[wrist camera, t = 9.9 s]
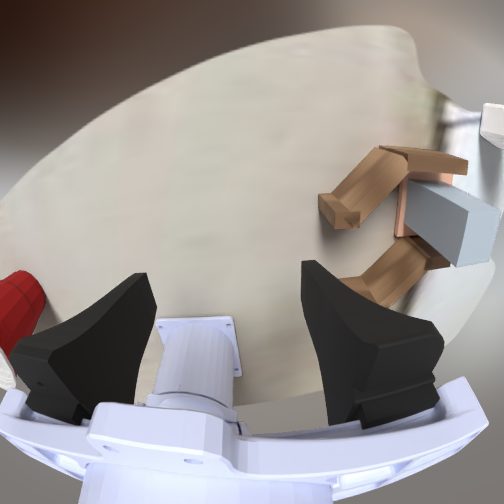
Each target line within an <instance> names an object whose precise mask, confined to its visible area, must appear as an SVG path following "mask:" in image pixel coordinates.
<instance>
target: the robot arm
mask: <svg viewBox="0 0 504 504" xmlns="http://www.w3.org/2000/svg"><path fill="white" fill-rule="evenodd" d="M301 302H302V307H303V312H304V317H305V320H306V323H307V326H308V329H309V332H310V335H311V338H312V341H313V344H314V347H315V350H316V353H317V357H318V361H319V366H320V371H321V376H322V382H323V388H324V394H325V401H326V407H327V415H328V424H329V426H327V427H321V428H314V429H307V430H300V431H292V432H283V433H271V434H256V435H252V432H251V430H250V429H249V428H248V427H247V425H246V423H244V422H239V421H237V411H236V410H233V377H240V376H242V369H241V364H240V358H239V352H238V346H237V340H236V333H235V327H234V321H233V318H232V317H231V316H215V317H194V318H160V319H157V320H156V322H155V324H156V327H157V330H158V332H159V335H160V337H161V340H162V343H163V345H164V351H163V354H162V358H161V362H160V365H159V369H158V373H157V377H156V381H155V384H154V388H153V392H152V394H150V393H149V394H148V397H147V401H146V404H144V403H141V402H138V403H136V404H135V405H134V397H135V390H136V383H137V377H138V372H139V367H140V363H141V360H142V357H143V354H144V351H145V348H146V345H147V342H148V339H149V336H150V334H151V331H152V328H153V325H154V320H155V315H156V310H157V305H156V302H155V299H154V296H153V293H152V290H151V287H150V284H149V280H148V277H147V274H146V273H135V274H133V275H131V276H130V277H128V278H127V279H126V280H124V281H123V282H122V283H120V284H119V285H118V286H117V287H115V288H114V289H113V290H111V291H110V292H109V293H108V294H106V295H105V296H104V297H102V298H101V299H100V300H98V301H97V302H96V303H94V304H93V305H92V306H90V307H89V308H87V309H86V310H84V311H82V312H81V313H79V314H78V315H76V316H74V317H72V318H71V319H69V320H67V321H65V322H63V323H61V324H59V325H57V326H55V327H52V328H50V329H48V330H45V331H42V332H40V333H37V334H34V335H30V336H27V337H24V338H20V339H19V341H18V342H17V344H16V345H15V347H14V348H13V350H12V351H11V353H10V354H9V360H10V363H11V365H12V367H13V369H14V370H15V372H16V373H17V374H18V376H19V377H20V378H21V379H22V381H23V382H24V383H25V384H26V385H27V387H28V388H29V389H30V390H31V391H30V393H29V395H27V394H26V393H25V392H23V391H20V390H18V389H15V388H12V387H9V389H8V391H7V393H6V395H5V397H4V399H3V401H2V403H1V405H0V434H1V435H2V436H4V437H5V438H6V439H7V440H8V441H10V442H11V443H12V444H13V445H15V446H16V447H17V448H18V449H20V450H21V451H22V452H24V453H25V454H27V455H29V456H31V457H32V458H34V459H36V460H38V461H40V462H42V463H44V464H46V465H48V466H50V467H52V468H54V469H56V470H58V471H60V472H63V473H65V474H67V475H69V476H72V477H74V478H76V479H79V480H81V481H83V485H82V490H81V494H80V498H79V503H78V504H333V501H335V500H339V499H343V498H347V497H351V496H354V495H358V494H361V493H364V492H367V491H370V490H373V489H376V488H379V487H382V486H385V485H387V484H390V483H392V482H395V481H398V480H400V479H402V478H405V477H407V476H410V475H412V474H414V473H416V472H419V471H421V470H423V469H425V468H427V467H429V466H431V465H433V464H436V463H438V462H440V461H442V460H444V459H445V458H448V457H450V456H452V455H453V454H455V453H457V452H458V451H459V450H461V449H462V448H463V447H464V446H466V445H467V444H468V443H469V442H470V441H471V440H472V439H474V438H475V437H476V436H477V435H478V434H479V433H480V432H481V431H482V430H483V429H485V428H486V426H488V424H489V422H488V420H487V418H486V416H485V414H484V412H483V410H482V408H481V406H480V404H479V402H478V400H477V399H476V396H475V394H474V393H473V391H472V389H471V387H470V386H469V384H468V382H467V380H466V378H465V377H464V376H462V377H459V378H457V379H455V380H452V381H450V382H447V383H445V384H443V385H441V386H440V387H438V388H437V389H435V387H434V385H433V383H434V382H435V377H434V375H433V373H432V371H433V369H434V367H435V366H436V364H437V362H438V360H439V358H440V356H441V354H442V352H443V349H444V340H443V337H442V336H441V334H440V333H439V331H438V330H437V328H436V327H435V326H434V324H433V323H432V322H431V321H427V320H423V319H419V318H415V317H411V316H407V315H404V314H401V313H398V312H395V311H393V310H390V309H388V308H386V307H383V306H381V305H379V304H377V303H375V302H373V301H371V300H369V299H367V298H365V297H364V296H362V295H360V294H358V293H357V292H355V291H354V290H352V289H351V288H349V287H348V286H347V285H345V284H344V283H342V282H341V281H340V280H338V279H337V278H336V277H335V276H333V275H332V274H331V273H330V272H329V271H327V270H326V269H325V268H324V267H323V266H322V265H320V264H319V263H318V262H317V261H316V260H308V261H302V264H301ZM227 324H231V325H227ZM160 326H162V327H160Z"/></svg>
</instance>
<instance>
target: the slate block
mask: <svg viewBox="0 0 504 504" xmlns="http://www.w3.org/2000/svg"><path fill="white" fill-rule="evenodd" d="M500 216H501V211H500V210H498V209H496V208H495V207H493V206H491V205H489V204H488V203H486V202H484V201H482V200H480V199H478V198H476V197H474V196H472V195H470V194H469V193H467V192H465V191H462V190H460V189H458V188H456V187H454V186H452V185H450V184H448V183H446V182H443V181H441V180H421V179H408V185H407V197H406V206H405V215H404V223H405V224H406V225H407V226H408V227H410V228H411V229H412V230H413V231H415V232H416V233H417V234H418V235H419V236H421V237H422V238H423V239H424V240H425V241H427V242H428V243H429V244H430V245H431V246H432V247H434V248H435V249H436V250H437V251H438V252H439V253H441V254H442V255H443V256H444V257H445V258H446V259H447V260H448V261H449V262H451V263H452V264H453V265H454V266H455V267H462V266H467V265H473V264H479V263H484V262H489V260H490V256H491V253H492V249H493V246H494V242H495V238H496V234H497V230H498V225H499V220H500Z"/></svg>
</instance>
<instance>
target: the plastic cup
mask: <svg viewBox="0 0 504 504" xmlns="http://www.w3.org/2000/svg"><path fill="white" fill-rule="evenodd" d="M45 303H46V301H45V294H44V292H43V289H42V287H41V286H40V284H39V283H38V281H37V280H36V279H35V278H34V277H33V276H32V275H31V274H29V273H28V272H26V271H21V270H19V271H17V272H14V273H13V274H11V275H10V276H8V277H7V278H5V279H3V280H0V387H1V388H3V389H5V390H7V391H8V389H9V387H12V388H15V386H16V382H17V379H16V375H17V373H16V372H15V370H14V369H13V367H12V365H11V363H10V360H9V354H10V353H11V351H12V350H13V348H14V347H15V345H16V344H17V342H18V341H19V339H20V338H24V337H27V336H30V335H32V333H33V331H34V329H35V326H36V324H37V321H38V319H39V317H40V315H41V313H42V311H43V309H44V305H45Z"/></svg>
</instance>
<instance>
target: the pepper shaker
mask: <svg viewBox="0 0 504 504" xmlns="http://www.w3.org/2000/svg"><path fill="white" fill-rule="evenodd" d="M480 134H481V136H482V137H484V138H485V139H486V140H488V141H489V142H491V143H492V144H493V145H495V146H496V147H498V148H501V149H504V105H498V104H490V103H485V104H484V106H483V112H482V120H481V127H480Z"/></svg>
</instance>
